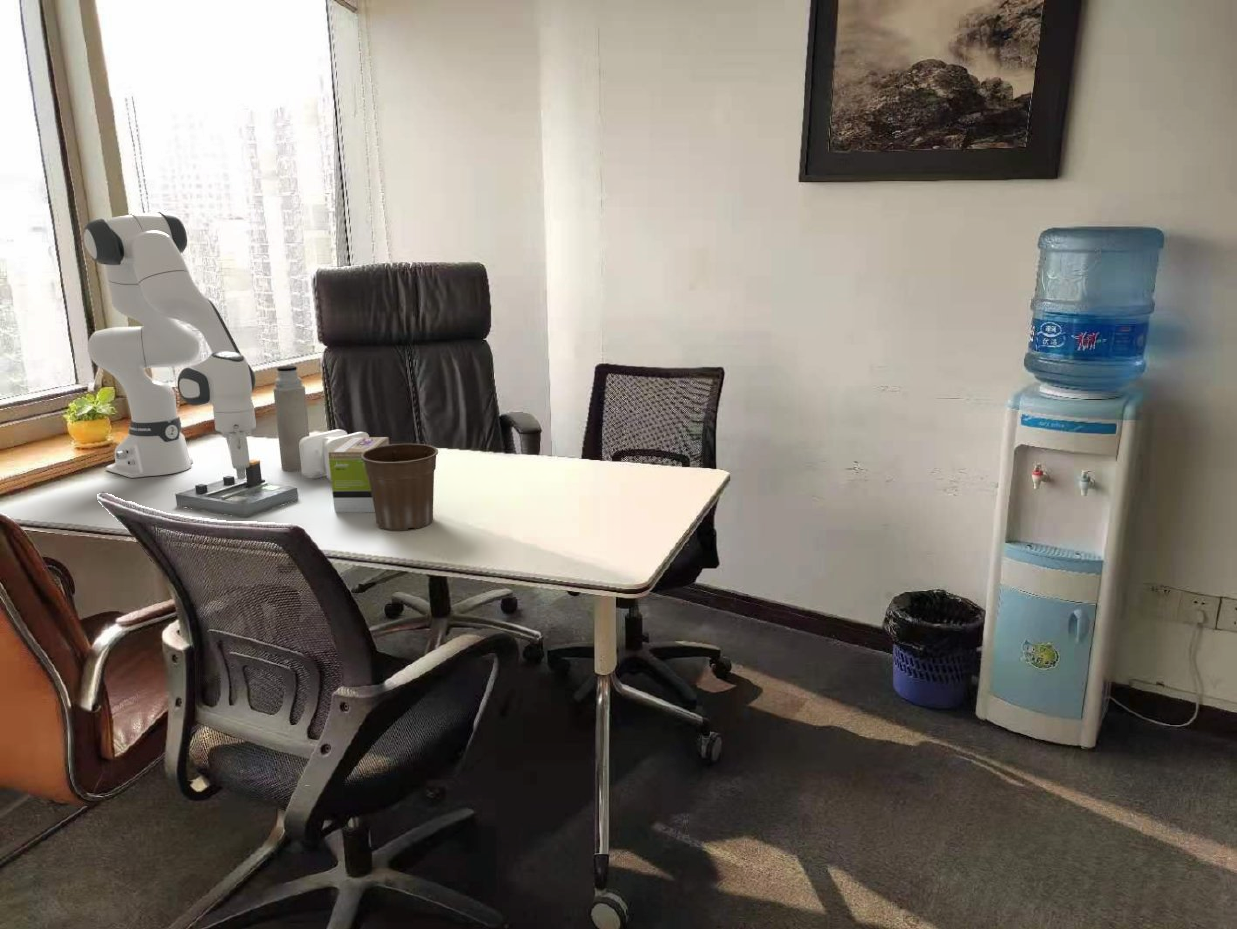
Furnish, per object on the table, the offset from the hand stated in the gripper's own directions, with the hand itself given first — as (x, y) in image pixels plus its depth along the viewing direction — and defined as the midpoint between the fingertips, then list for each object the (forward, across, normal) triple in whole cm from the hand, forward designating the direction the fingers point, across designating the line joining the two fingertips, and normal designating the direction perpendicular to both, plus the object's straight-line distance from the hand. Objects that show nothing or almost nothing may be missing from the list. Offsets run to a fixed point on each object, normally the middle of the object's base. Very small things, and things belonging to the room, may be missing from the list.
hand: (241, 478), depth 204 cm
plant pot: (+6, -34, -31) cm, 47 cm away
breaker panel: (+6, -2, +1) cm, 6 cm away
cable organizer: (+6, +12, -24) cm, 27 cm away
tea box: (+6, -16, -26) cm, 31 cm away
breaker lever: (+2, +2, -3) cm, 4 cm away
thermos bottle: (+6, +27, -15) cm, 32 cm away
